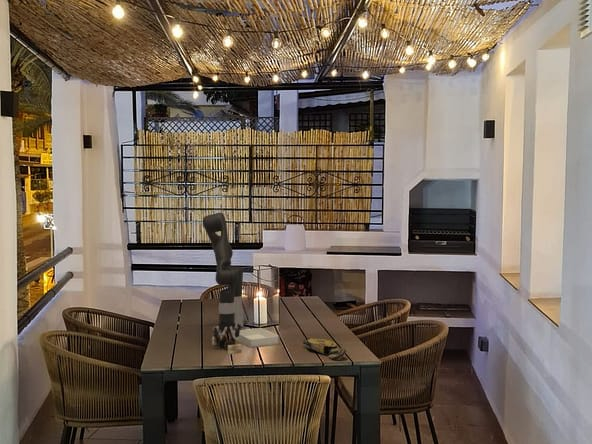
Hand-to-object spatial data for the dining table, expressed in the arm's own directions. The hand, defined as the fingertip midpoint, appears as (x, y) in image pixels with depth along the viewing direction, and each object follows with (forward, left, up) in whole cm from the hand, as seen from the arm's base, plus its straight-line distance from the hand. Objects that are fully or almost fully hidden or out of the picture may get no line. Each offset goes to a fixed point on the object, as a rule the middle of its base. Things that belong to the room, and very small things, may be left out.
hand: (226, 346), depth 289 cm
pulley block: (-37, +30, -1) cm, 47 cm away
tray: (-18, -5, -1) cm, 19 cm away
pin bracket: (0, 0, -1) cm, 1 cm away
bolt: (0, 0, -1) cm, 1 cm away
